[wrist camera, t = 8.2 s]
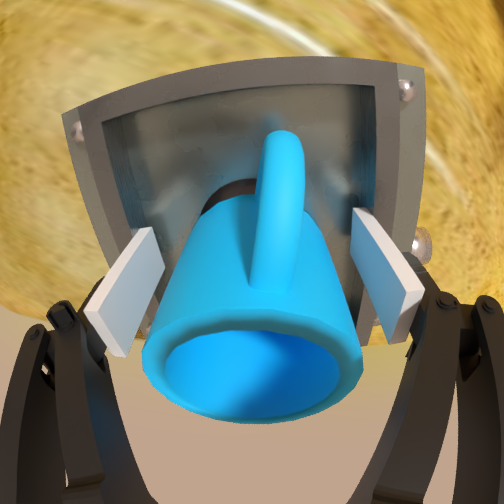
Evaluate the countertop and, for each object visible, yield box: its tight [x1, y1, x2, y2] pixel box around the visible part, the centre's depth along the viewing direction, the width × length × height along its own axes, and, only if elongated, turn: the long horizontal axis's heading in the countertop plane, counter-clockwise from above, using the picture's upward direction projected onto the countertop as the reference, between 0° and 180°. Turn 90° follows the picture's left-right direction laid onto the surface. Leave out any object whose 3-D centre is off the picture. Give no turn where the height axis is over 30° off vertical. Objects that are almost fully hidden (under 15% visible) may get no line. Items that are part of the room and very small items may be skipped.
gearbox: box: [62, 56, 432, 347], centre depth 17 cm, size 23×18×8 cm
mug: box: [142, 130, 363, 424], centre depth 11 cm, size 12×8×8 cm
